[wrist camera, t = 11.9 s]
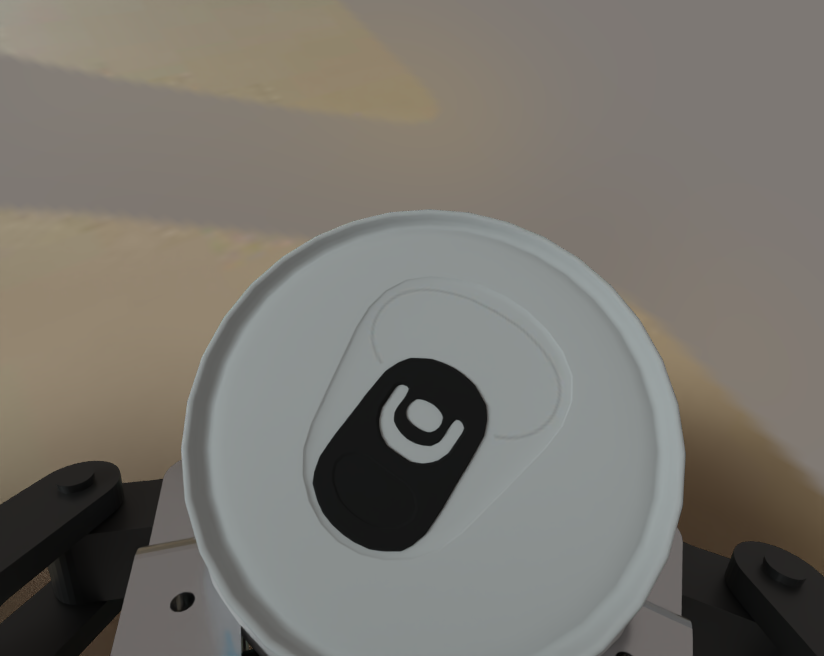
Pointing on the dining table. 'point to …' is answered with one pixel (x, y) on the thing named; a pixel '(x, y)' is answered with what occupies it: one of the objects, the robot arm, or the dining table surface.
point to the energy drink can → (432, 447)
